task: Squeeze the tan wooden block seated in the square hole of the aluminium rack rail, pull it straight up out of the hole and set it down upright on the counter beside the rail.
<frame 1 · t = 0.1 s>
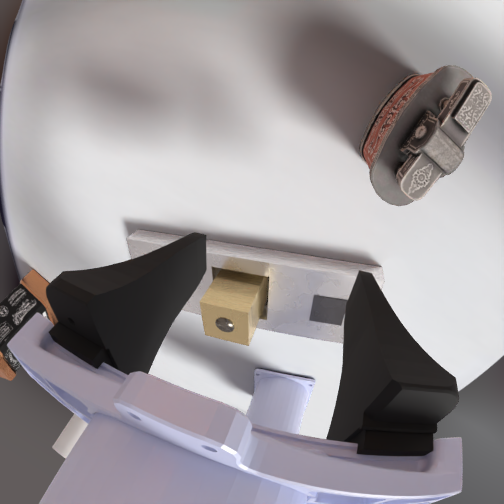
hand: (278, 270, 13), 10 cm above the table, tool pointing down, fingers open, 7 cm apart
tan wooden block: (247, 281, 27), resting in rail
rail: (246, 281, 27), on the table
lighter: (397, 120, 16), on the table
cylindrical container: (120, 376, 54), on the table
whiskey bottle: (49, 294, 45), on the table
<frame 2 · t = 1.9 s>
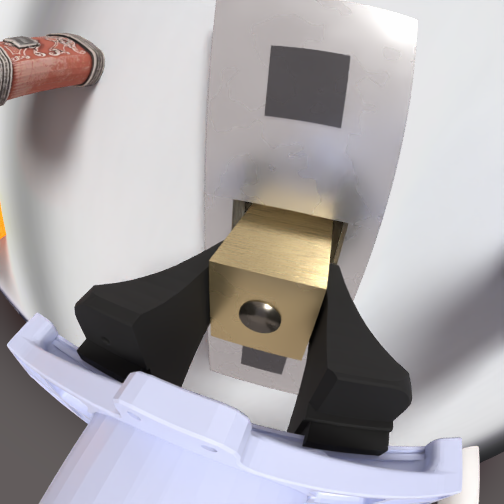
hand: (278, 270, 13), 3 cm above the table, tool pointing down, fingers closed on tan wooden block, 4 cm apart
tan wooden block: (289, 239, 15), resting in rail, touching gripper
rail: (289, 239, 15), on the table
lighter: (72, 56, 12), on the table
cylindrical container: (459, 453, 25), on the table
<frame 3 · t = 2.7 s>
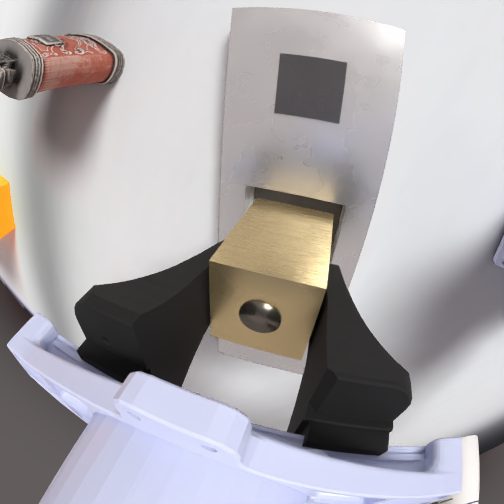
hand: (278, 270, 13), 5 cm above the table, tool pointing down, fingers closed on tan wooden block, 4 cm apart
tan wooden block: (289, 239, 15), point 2 cm above the table, touching gripper
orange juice: (0, 195, 26), on the table
rail: (294, 223, 17), on the table
lighter: (91, 56, 14), on the table
cylindrical container: (458, 442, 27), on the table
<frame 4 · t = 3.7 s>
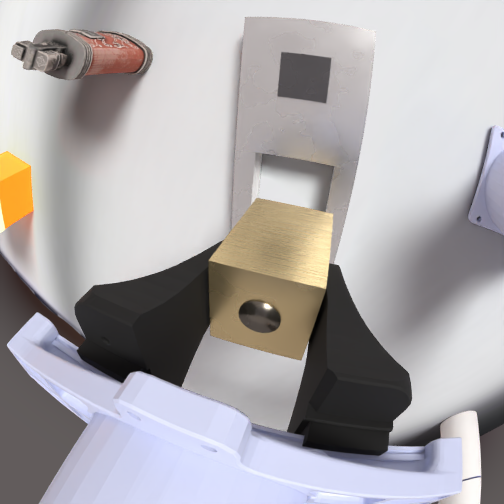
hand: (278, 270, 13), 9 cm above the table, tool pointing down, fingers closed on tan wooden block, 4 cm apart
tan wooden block: (289, 239, 15), point 6 cm above the table, touching gripper
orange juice: (19, 179, 30), on the table
rail: (294, 186, 20), on the table
lighter: (121, 51, 17), on the table
cylindrical container: (458, 419, 30), on the table
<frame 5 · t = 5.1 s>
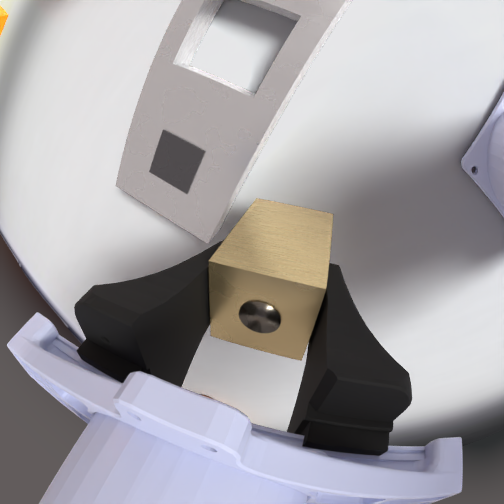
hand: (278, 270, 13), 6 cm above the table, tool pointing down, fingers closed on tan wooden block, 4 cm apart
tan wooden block: (289, 239, 15), point 3 cm above the table, touching gripper
rail: (244, 43, 12), on the table
whiskey bottle: (211, 412, 38), on the table
when the fingers open (4 cm above the table, at t = 5.8 s): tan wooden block drops 2 cm, on the table.
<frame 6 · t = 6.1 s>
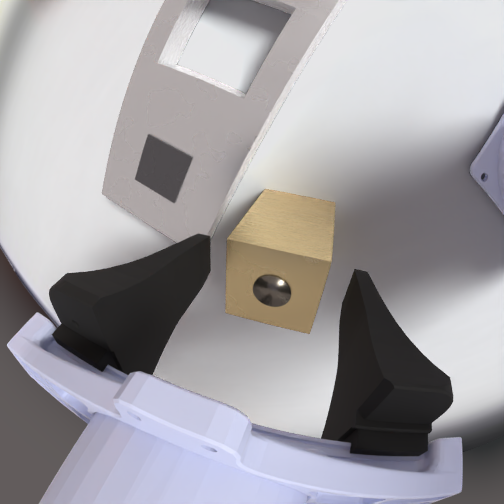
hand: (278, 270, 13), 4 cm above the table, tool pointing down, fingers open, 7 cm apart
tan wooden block: (295, 226, 16), on the table
rail: (234, 39, 11), on the table
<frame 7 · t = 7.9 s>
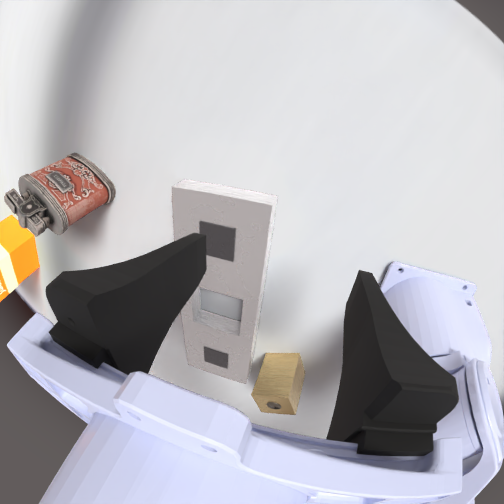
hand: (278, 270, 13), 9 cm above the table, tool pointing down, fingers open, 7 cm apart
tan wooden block: (286, 363, 31), on the table
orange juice: (25, 240, 38), on the table
rail: (223, 298, 28), on the table
lighter: (92, 175, 25), on the table
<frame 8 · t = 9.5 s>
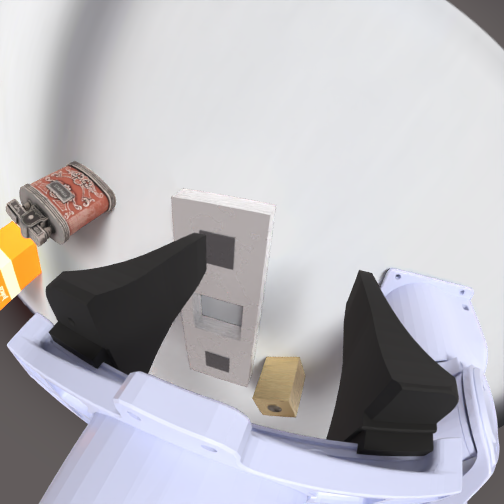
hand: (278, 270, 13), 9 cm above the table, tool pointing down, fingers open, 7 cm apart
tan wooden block: (286, 366, 31), on the table
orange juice: (27, 246, 38), on the table
rail: (223, 304, 29), on the table
lighter: (92, 184, 26), on the table
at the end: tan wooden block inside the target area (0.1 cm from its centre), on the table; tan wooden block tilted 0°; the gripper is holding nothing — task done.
